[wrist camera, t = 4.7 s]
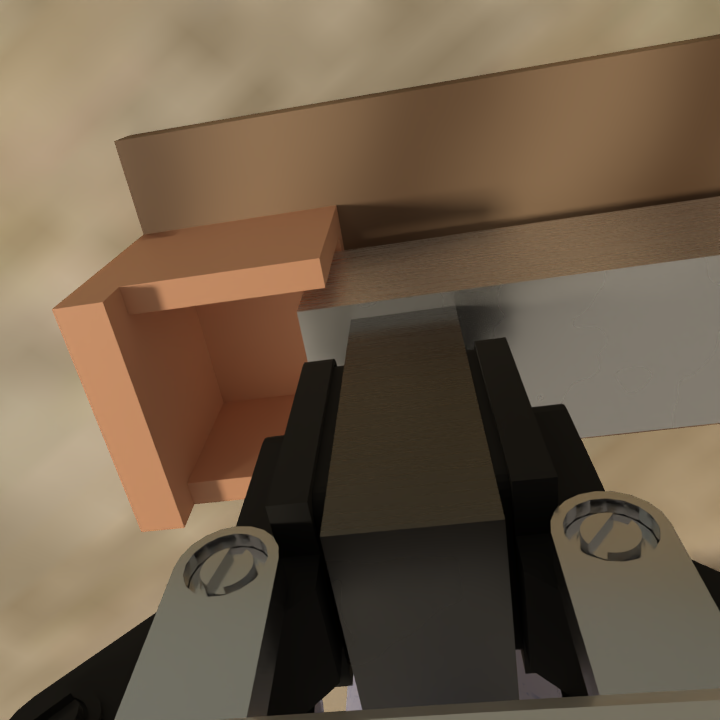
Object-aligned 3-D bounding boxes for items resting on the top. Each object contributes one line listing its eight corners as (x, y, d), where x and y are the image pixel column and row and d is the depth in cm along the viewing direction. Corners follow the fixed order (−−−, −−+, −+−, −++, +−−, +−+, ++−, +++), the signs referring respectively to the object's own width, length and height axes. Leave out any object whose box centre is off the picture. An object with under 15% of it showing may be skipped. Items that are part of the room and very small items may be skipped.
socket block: (336, 205, 16) (314, 272, 11) (370, 393, 18) (362, 509, 14) (143, 234, 16) (51, 309, 12) (200, 413, 19) (141, 531, 14)
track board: (1365, -77, 13) (1435, -84, 12) (1173, 353, 18) (1216, 370, 17) (129, 135, 16) (114, 141, 15) (227, 458, 21) (220, 477, 20)
